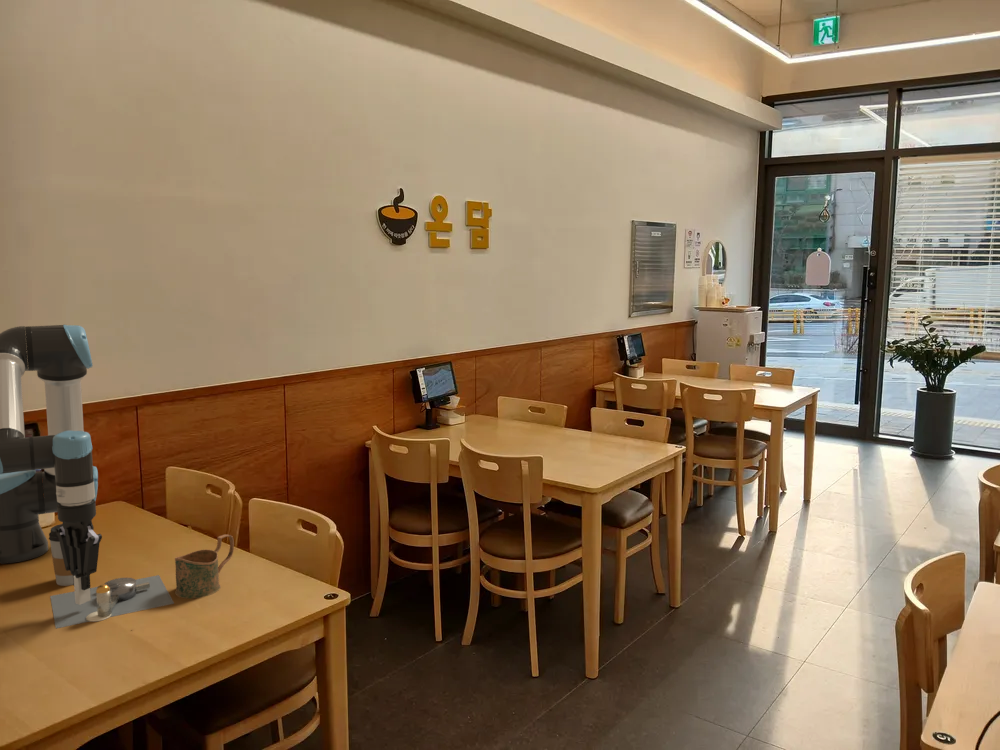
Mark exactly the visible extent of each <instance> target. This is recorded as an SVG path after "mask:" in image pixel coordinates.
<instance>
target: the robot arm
mask: <svg viewBox="0 0 1000 750" xmlns="http://www.w3.org/2000/svg"><path fill="white" fill-rule="evenodd" d="M90 368H93V359H92V355H91V350H90V345H89V340H88V338H87V332H86V329H85V328H84V327H83V326H82V325H73V324H72V325H71V324H69V325H67V324H55V325H51V324H50V325H35V326H34V325H31V326H30V325H29V326H24V325H21V326H14V327H10V328H8V329H6V330H3V331H2V332H0V563H1V564H13V563H19V562H25V561H29V560H33V559H36V558H38V557H41V556H43V555H45V554H46V553H47V552H48V550H49V542H48V538H47V537H46V534H45V533H44V531H43V529H42V527H41V525H40V520H39V519H40V518H39V515H45V514H52V513H57V520H58V521H59V522H60V523H61V524H62V525H63V526H62V527H60V528H57V529H56V530H55V531H56V534H57V536H58V538H59V542H60V546H61V551H62V555H63V560H64V564H65V569H66V570H67V571H69V570H70V571H71V574H72V575H73V582H74V585H73V587H74V589H73V590H74V591H75V603H76V604H79V605H80V604H83V603H85V602H88V601H90V600H91V596H90V588H91V575H92V574H95V573H96V572H97V570H98V561H99V550H100V543H101V540H102V539H103V536H102V534H101V533H98V534H97V533H96V532H95V531H94V525H93V519H94V518H95V517H96V515H97V505H96V500H97V495H98V487H99V482H98V481H99V472H98V468H97V466H94V461H93V445H92V438H91V437H92V436H91V434H90V432H88V431H85V429H84V413H83V410H84V409H83V395H82V390H83V389H82V380H83V379H84V378H85V377H86V376H87V375H88V371H87V369H90ZM33 371H35V372H36V374H37V375H36V376H37V378H38V379H39V380H40V381H43V382H44V393H45V406H46V409H45V410H46V421H47V435H38V436H28V437H26V432H25V420H24V419H25V417H24V402H23V401H24V399H23V386H22V377H23V376H24V374H25V372H33ZM38 470H44V471H40V472H37V471H38ZM1 564H0V565H1Z"/></svg>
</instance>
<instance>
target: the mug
mask: <svg viewBox="0 0 1000 750" xmlns="http://www.w3.org/2000/svg"><path fill="white" fill-rule="evenodd" d="M227 537H228V538H229V552H228V554H227V557H226V558H224V560H223V561H221V563H220V564H219V561H218V560H219V555H218V553H219V551H220V550H221V547H222V539H224V538H227ZM234 549H235V541H234V536H233V535H231V534H222V535H219V536H217V544H216V547H215V549H214V550H212V549H199V550H195V551H192V552H190V553H187V554H184V555H180V556H176V557H174V563H175V585H176V590H175V592H174V593H175V595H176V597H179V598H182V599H199V598H205V597H208V596H210V595H213V594H216V593H218V592H219V591H220V589H221V587H222V586H221V584H220V577H219V576H220V575H219V574H220V572H221V570H222V569H223V568H224V566H225V565H226V564H227V563H228V562H229V561H230V559H231V558H232V557H233V554H234Z"/></svg>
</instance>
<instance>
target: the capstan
mask: <svg viewBox="0 0 1000 750" xmlns="http://www.w3.org/2000/svg"><path fill="white" fill-rule="evenodd" d="M96 587H97V589H96V598H97V613H98V616H100V617H104V616H108V615H110V614H111V613H112V610H111V609H112V608H113V607H114V605H115V604H116V603H117V601H123V600H127V599H130V598H132V597H134V596H135V595H136V593H137V592H136V591H138V590H142V589H147V588H150V584H149V583H148V582H147V583H143V584H139V585H136V579H135V578H133V577H118V578H114V579H110V580H108V581H106V582H105V583H102V584H100V585H98V586H96Z"/></svg>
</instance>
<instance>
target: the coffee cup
mask: <svg viewBox="0 0 1000 750" xmlns="http://www.w3.org/2000/svg"><path fill="white" fill-rule="evenodd" d="M62 526H63V525H62V523H60V524H56V525H54V526H52V527H51V528H50V532H49V533H48V536H49V538H48V540H49V543H50V549H51V550H50V551H51V559H52V564H53V566H52V567H53V571H54V575H55V582H56V585H58V586H61V587H64V586H65V587H67V586H68V587H69V586H74V582H73V575H72V574H71V571H70V570H69V571H67V570H66V569H65V564H64V560H63V555H62V551H61V546H60V542H59V538H58V536H57V534H56V531H55V530H56V529H57V528H60V527H62Z"/></svg>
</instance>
